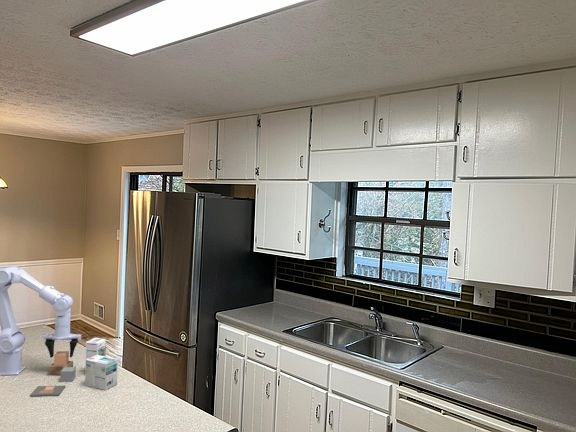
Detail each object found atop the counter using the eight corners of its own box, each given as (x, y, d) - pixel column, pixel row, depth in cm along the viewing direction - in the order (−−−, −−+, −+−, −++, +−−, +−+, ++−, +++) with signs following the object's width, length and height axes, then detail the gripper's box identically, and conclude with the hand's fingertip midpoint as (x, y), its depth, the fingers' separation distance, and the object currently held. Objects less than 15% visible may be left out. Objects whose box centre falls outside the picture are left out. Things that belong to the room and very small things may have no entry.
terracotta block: (53, 365, 184) (54, 355, 184) (57, 361, 189) (57, 351, 189) (65, 365, 185) (65, 354, 185) (68, 361, 190) (68, 351, 190)
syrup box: (97, 377, 184) (98, 342, 184) (84, 375, 186) (85, 341, 185) (105, 371, 190) (106, 338, 190) (93, 370, 191) (94, 337, 191)
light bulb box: (117, 384, 178) (118, 358, 178) (105, 390, 172) (106, 363, 172) (96, 379, 182) (97, 353, 182) (83, 385, 176) (84, 359, 175)
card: (29, 396, 164) (29, 394, 164) (37, 387, 172) (37, 385, 172) (58, 395, 166) (58, 394, 166) (65, 386, 174) (65, 385, 174)
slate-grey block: (60, 382, 178) (60, 371, 177) (63, 378, 182) (64, 367, 182) (72, 382, 178) (72, 371, 178) (75, 377, 183) (75, 367, 183)
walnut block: (48, 376, 183) (48, 366, 183) (56, 369, 190) (56, 360, 190) (65, 376, 184) (66, 367, 184) (73, 370, 191) (73, 361, 191)
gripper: (40, 327, 181) (39, 360, 182) (78, 327, 184) (77, 359, 184) (46, 322, 188) (45, 354, 189) (83, 322, 191) (81, 353, 191)
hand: (61, 356), depth 187 cm, fingers open, 7 cm apart
